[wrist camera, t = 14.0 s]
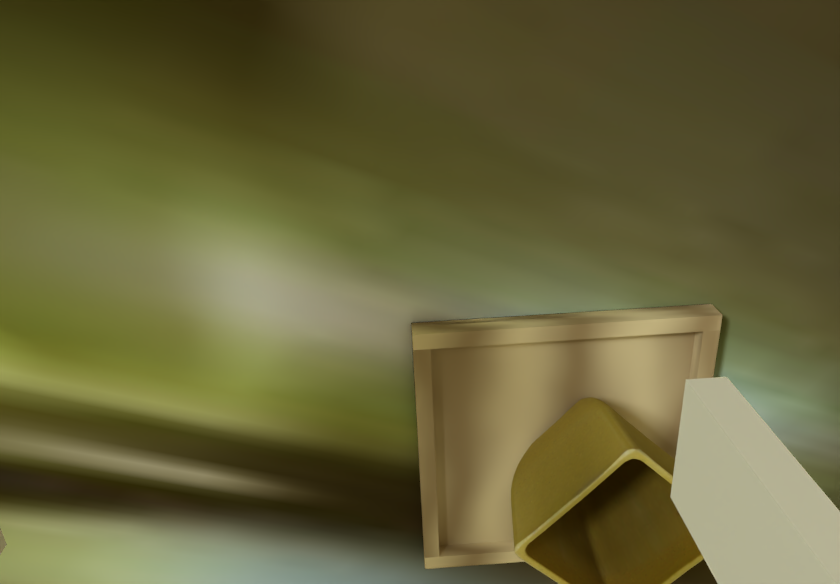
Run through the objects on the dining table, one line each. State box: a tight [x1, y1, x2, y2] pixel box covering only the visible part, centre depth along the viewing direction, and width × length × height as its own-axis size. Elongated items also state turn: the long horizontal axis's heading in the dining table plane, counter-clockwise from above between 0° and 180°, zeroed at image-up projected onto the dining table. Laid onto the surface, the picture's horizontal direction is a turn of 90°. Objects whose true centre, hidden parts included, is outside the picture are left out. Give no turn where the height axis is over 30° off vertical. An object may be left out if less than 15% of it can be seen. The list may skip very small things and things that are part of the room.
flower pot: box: [511, 397, 704, 584], centre depth 42 cm, size 9×9×9 cm
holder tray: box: [411, 304, 723, 569], centre depth 46 cm, size 18×18×2 cm
